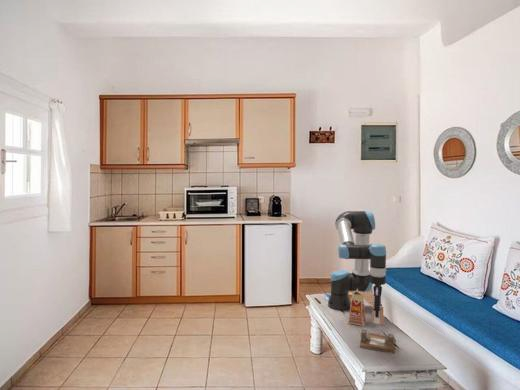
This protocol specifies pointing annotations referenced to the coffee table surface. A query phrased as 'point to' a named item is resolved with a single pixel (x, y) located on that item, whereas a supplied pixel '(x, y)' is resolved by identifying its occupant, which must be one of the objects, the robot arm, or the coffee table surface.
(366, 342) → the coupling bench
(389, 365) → the coffee table surface
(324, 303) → the coffee table surface
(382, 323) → the block
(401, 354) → the coffee table surface
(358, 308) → the milk carton
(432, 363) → the coffee table surface
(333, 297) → the robot arm
